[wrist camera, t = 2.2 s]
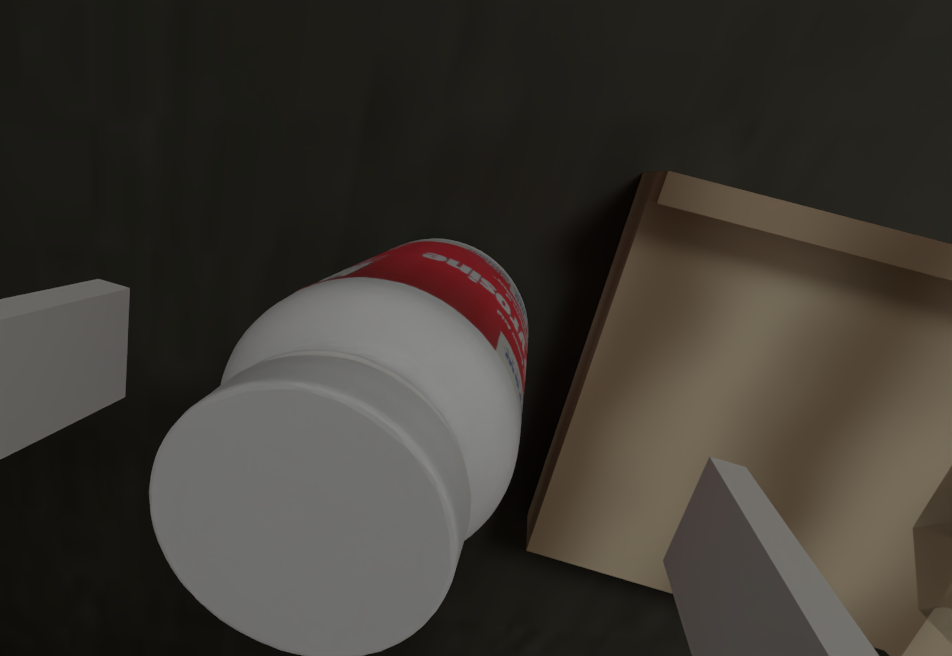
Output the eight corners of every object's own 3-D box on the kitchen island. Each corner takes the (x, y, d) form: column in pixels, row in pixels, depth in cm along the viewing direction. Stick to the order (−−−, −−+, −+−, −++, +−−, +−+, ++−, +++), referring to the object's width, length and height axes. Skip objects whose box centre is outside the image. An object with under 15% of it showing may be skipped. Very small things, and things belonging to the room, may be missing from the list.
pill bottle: (561, 356, 18) (593, 624, 7) (416, 430, 19) (265, 742, 9) (468, 199, 16) (341, 237, 6) (322, 291, 18) (14, 452, 7)
